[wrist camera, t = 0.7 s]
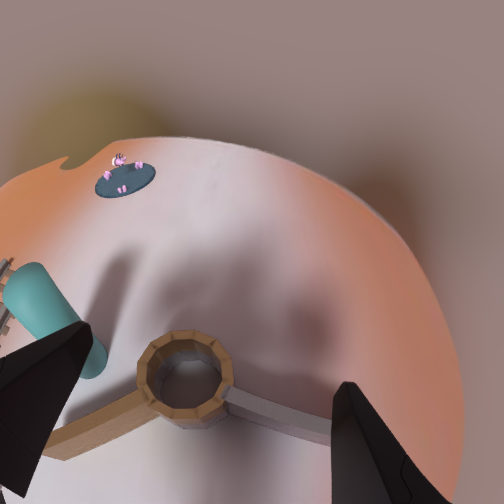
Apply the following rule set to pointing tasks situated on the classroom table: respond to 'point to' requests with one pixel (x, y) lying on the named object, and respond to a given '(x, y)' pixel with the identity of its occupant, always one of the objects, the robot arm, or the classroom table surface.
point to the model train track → (0, 311)
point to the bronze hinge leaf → (143, 399)
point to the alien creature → (124, 179)
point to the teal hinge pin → (46, 310)
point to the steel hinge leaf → (251, 406)
